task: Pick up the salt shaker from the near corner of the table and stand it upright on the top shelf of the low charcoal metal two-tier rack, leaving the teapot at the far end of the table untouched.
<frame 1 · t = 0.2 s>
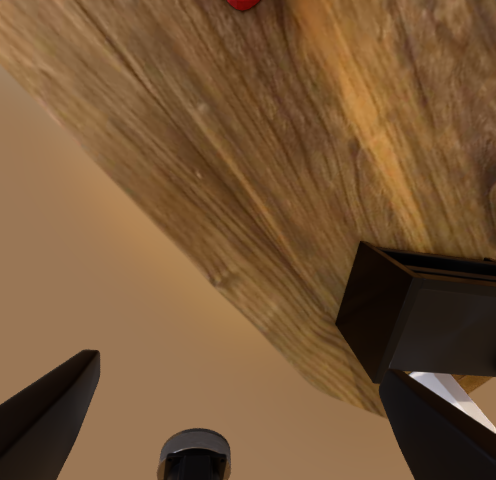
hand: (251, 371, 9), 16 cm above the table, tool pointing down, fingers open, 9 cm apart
rack: (412, 291, 28), on the table
salt shaker: (425, 379, 32), on the table
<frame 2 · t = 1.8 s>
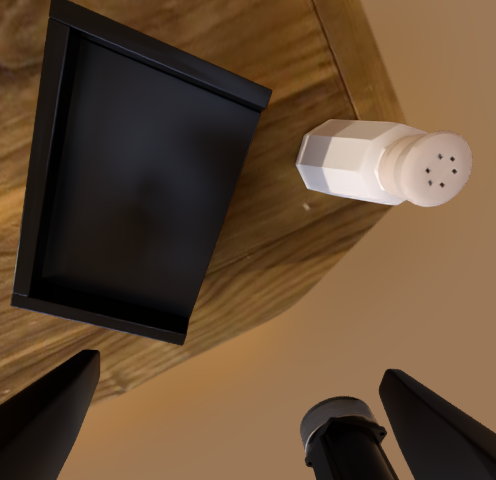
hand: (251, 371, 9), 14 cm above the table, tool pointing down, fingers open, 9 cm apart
rack: (162, 185, 20), on the table
salt shaker: (329, 158, 21), on the table
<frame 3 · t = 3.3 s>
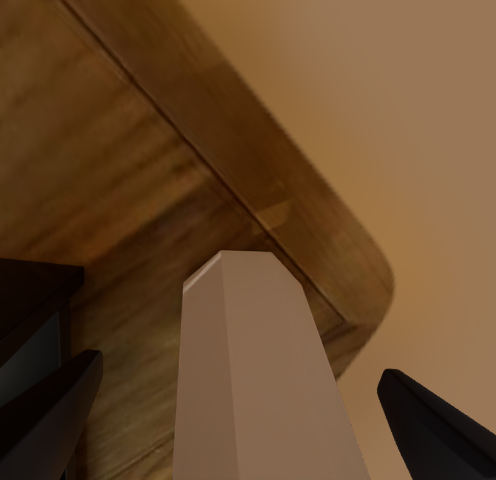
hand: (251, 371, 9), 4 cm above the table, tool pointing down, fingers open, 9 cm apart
salt shaker: (241, 300, 12), on the table
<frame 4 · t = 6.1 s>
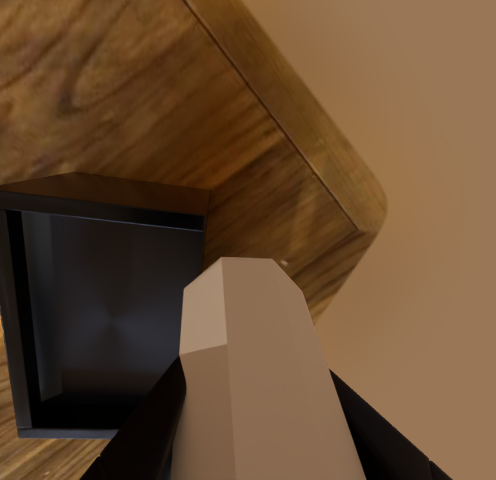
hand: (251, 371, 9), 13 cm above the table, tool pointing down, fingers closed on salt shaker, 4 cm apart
rack: (141, 274, 21), on the table
salt shaker: (242, 307, 12), point 9 cm above the table, touching gripper
when the fingers open (10 cm above the table, at t = 8.1 s): salt shaker stays where it is, resting on rack.
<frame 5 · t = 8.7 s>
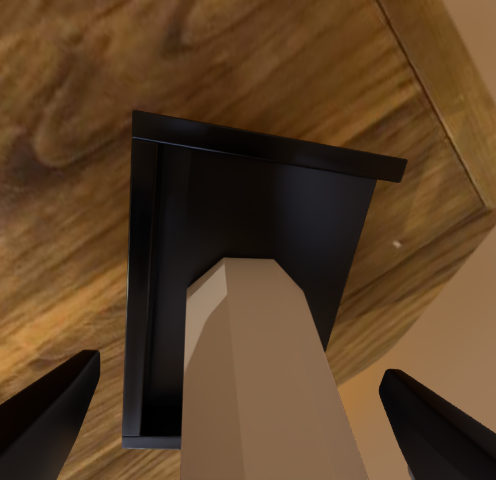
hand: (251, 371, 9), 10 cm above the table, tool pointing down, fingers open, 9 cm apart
rack: (235, 254, 18), on the table
salt shaker: (244, 306, 13), point 6 cm above the table, touching rack
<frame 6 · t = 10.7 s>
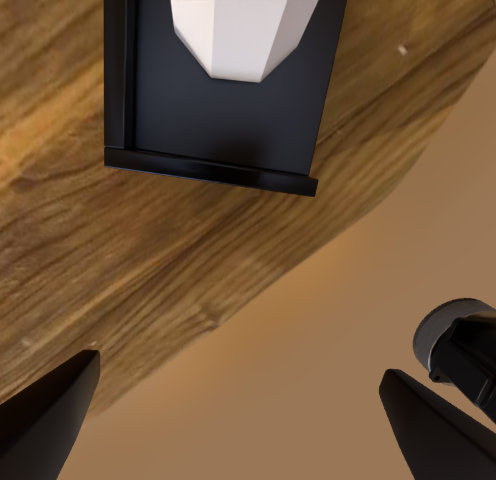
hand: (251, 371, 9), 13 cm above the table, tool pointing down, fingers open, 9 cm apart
rack: (230, 50, 17), on the table
salt shaker: (238, 13, 11), point 6 cm above the table, touching rack
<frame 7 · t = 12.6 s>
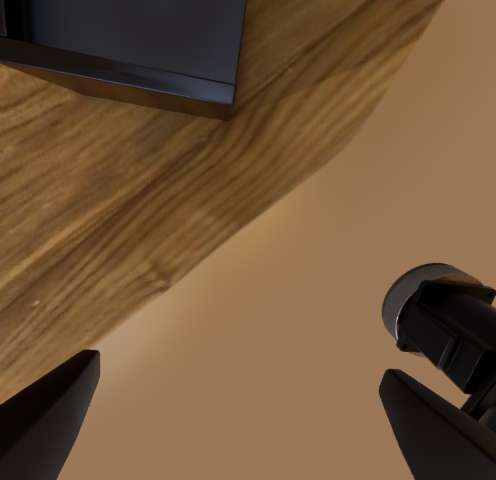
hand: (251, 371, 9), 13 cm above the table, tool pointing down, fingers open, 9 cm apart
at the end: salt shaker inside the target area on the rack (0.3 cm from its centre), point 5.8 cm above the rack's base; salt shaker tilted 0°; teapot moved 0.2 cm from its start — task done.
